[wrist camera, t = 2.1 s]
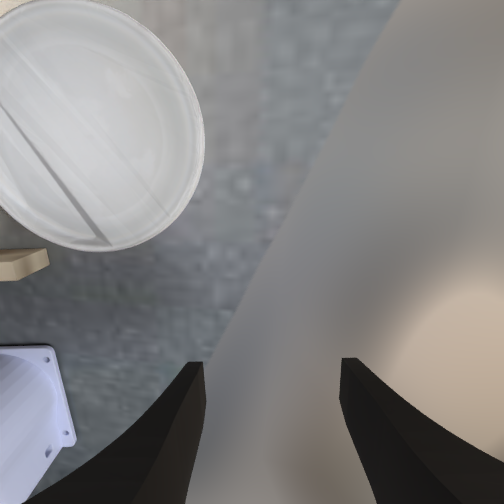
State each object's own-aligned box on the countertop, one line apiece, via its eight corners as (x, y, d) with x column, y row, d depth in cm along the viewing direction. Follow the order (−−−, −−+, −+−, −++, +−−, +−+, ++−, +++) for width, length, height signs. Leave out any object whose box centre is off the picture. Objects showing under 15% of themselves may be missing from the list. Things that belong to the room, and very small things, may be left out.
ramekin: (16, 186, 19) (-67, 193, 14) (65, 4, 17) (-17, -68, 12) (175, 258, 21) (150, 288, 16) (244, 101, 18) (241, 76, 13)
